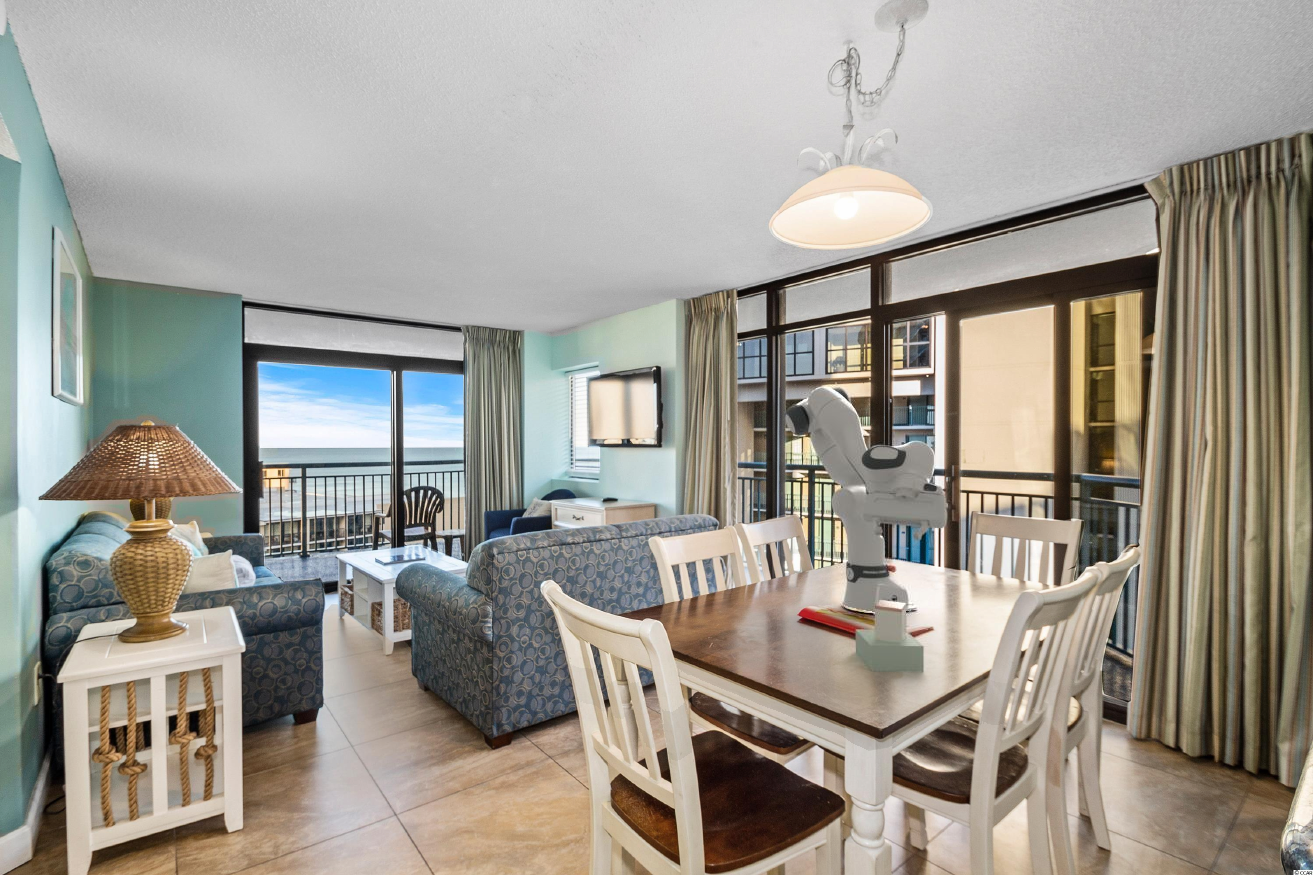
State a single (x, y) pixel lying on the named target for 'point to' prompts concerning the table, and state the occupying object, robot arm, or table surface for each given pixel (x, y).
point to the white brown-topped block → (890, 621)
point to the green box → (889, 653)
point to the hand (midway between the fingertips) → (896, 535)
